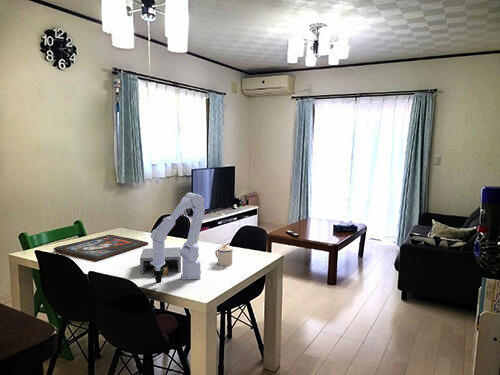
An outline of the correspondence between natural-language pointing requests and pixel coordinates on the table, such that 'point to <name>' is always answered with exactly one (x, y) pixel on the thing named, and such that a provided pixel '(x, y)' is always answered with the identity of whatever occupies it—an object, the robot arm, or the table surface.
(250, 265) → the table surface
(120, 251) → the religious icon
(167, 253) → the grey low stand
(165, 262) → the teak tray
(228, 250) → the teacup with lid
